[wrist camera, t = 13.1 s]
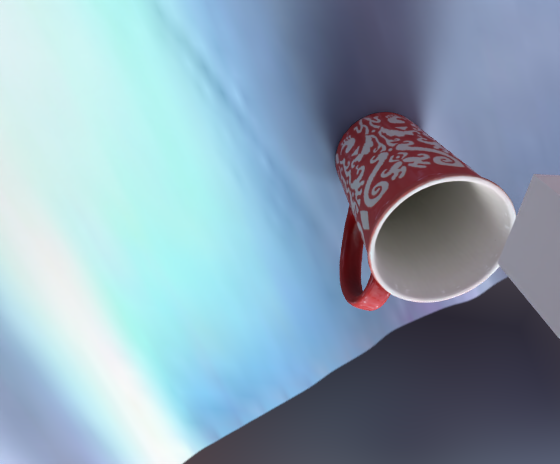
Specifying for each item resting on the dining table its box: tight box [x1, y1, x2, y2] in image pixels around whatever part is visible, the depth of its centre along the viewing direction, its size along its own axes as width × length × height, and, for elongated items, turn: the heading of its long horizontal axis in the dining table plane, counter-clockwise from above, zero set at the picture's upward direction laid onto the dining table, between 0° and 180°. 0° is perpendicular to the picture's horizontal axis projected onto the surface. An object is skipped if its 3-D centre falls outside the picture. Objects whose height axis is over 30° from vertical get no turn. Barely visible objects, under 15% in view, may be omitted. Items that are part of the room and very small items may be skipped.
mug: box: [335, 112, 516, 311], centre depth 37 cm, size 13×9×14 cm
